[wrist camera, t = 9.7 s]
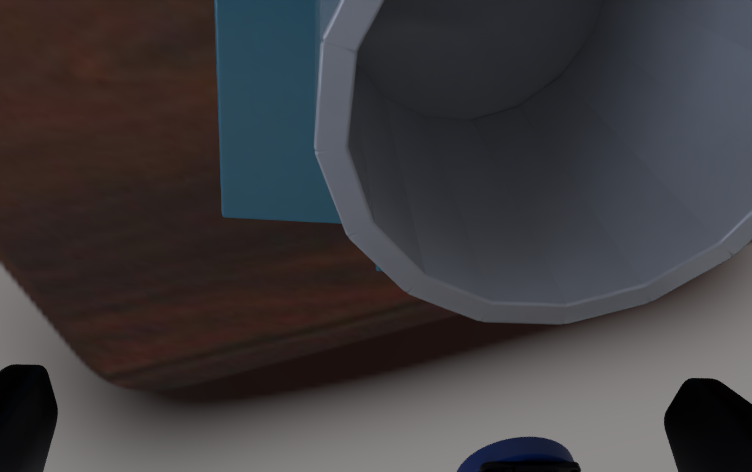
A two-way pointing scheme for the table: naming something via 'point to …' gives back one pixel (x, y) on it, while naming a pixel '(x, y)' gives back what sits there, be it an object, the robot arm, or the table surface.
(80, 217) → the table surface
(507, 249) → the cup
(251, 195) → the container
